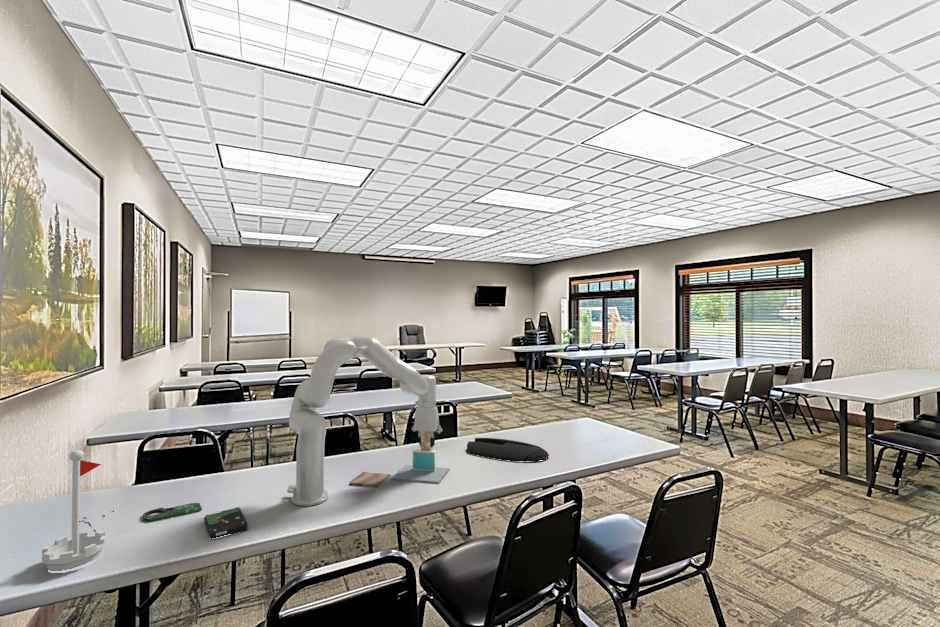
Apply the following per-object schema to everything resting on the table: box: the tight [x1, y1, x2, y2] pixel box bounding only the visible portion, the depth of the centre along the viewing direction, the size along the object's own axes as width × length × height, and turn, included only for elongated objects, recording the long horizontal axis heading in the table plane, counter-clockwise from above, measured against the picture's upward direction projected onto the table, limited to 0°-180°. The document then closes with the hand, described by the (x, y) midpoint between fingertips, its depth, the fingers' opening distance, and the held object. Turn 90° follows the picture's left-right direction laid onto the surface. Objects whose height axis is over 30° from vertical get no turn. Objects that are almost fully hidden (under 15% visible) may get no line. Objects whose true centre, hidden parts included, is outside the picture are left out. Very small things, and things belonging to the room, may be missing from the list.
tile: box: [412, 449, 437, 471], centre depth 190 cm, size 10×2×8 cm, turn 77°
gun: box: [142, 502, 203, 523], centre depth 150 cm, size 16×2×10 cm
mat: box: [391, 464, 451, 485], centre depth 187 cm, size 20×16×1 cm
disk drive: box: [203, 507, 249, 539], centre depth 140 cm, size 10×3×15 cm
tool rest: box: [348, 471, 391, 488], centre depth 180 cm, size 12×12×1 cm
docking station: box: [466, 437, 550, 461], centre depth 217 cm, size 25×41×5 cm, turn 62°
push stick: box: [420, 431, 434, 451], centre depth 194 cm, size 4×4×11 cm
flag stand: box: [41, 449, 108, 571], centre depth 120 cm, size 13×13×30 cm
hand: (426, 445), depth 194 cm, fingers closed on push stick, 4 cm apart
